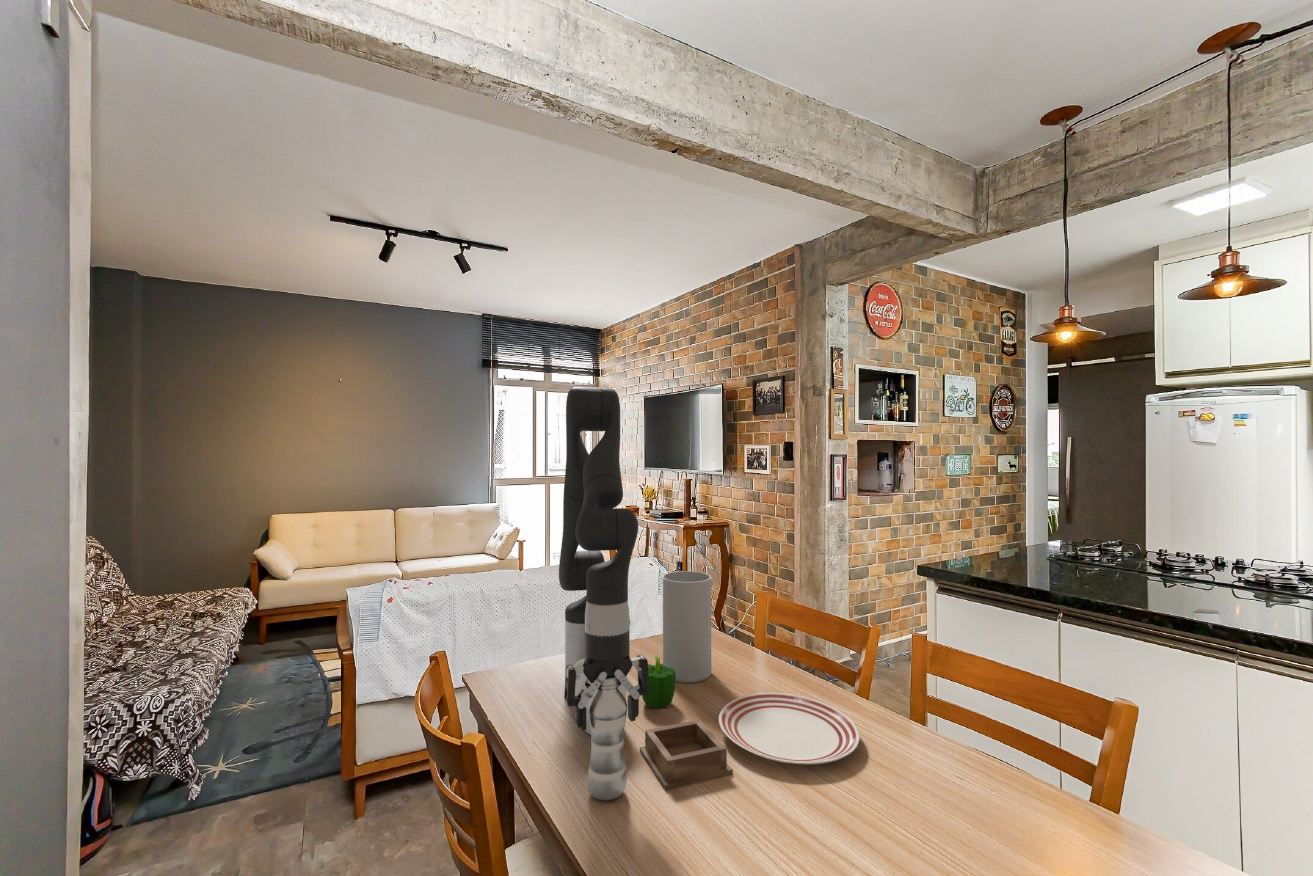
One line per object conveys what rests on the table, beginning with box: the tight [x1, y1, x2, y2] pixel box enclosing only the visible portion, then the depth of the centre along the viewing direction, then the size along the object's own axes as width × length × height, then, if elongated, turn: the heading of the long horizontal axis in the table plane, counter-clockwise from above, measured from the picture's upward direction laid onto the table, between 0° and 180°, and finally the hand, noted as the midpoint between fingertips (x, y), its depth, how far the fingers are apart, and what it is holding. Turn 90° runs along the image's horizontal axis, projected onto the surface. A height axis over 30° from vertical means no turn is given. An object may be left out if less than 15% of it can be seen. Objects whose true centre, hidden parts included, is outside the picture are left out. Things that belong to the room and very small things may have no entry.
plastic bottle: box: [586, 677, 628, 801], centre depth 95 cm, size 6×7×20 cm
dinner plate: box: [718, 692, 860, 765], centre depth 113 cm, size 27×27×3 cm
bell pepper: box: [641, 655, 676, 709], centre depth 128 cm, size 8×8×10 cm
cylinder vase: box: [662, 570, 712, 684], centre depth 145 cm, size 12×12×25 cm
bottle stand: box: [639, 719, 734, 791], centre depth 104 cm, size 13×13×4 cm
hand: (607, 723), depth 95 cm, fingers open, 8 cm apart
